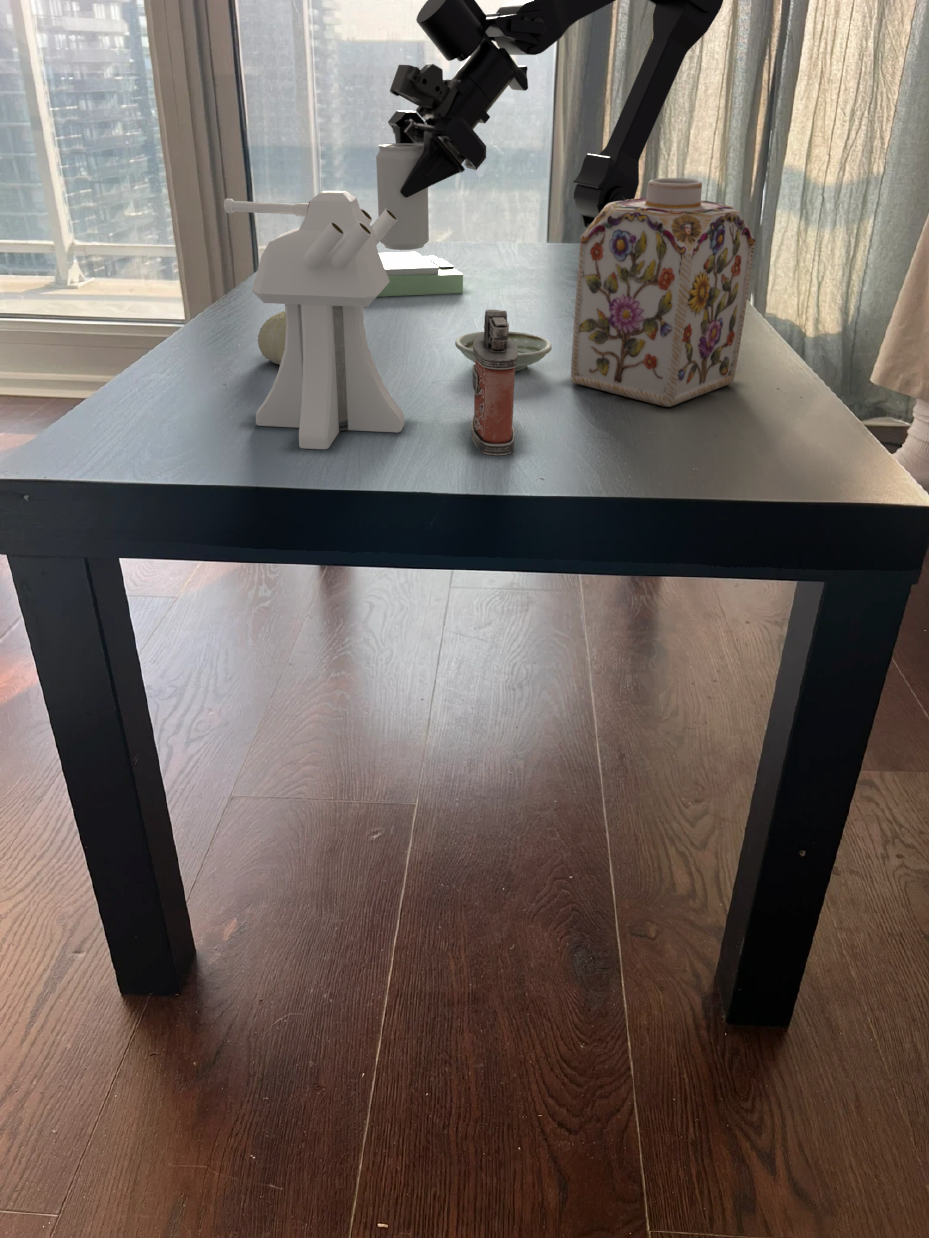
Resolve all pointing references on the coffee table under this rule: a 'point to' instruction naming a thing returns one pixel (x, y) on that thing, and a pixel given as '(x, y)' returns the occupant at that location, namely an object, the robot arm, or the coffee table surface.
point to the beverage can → (401, 196)
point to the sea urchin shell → (273, 337)
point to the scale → (419, 275)
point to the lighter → (494, 386)
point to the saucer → (527, 344)
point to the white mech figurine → (325, 318)
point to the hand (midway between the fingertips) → (392, 192)
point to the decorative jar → (661, 295)
